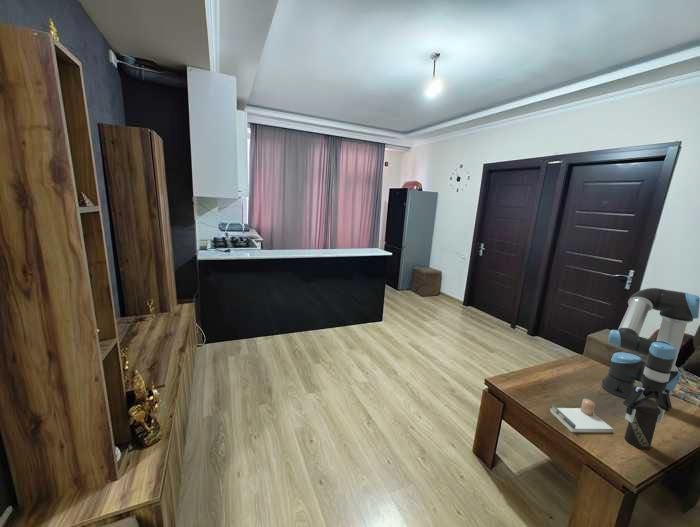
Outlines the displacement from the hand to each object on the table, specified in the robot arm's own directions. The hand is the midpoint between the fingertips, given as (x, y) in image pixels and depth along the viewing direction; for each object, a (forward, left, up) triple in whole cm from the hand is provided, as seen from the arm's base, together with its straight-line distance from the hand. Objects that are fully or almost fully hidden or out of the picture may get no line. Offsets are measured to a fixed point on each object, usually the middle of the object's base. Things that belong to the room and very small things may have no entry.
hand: (642, 420), depth 127 cm
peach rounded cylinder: (+9, -17, -10) cm, 21 cm away
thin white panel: (+16, -13, -12) cm, 24 cm away
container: (0, 0, -12) cm, 12 cm away
